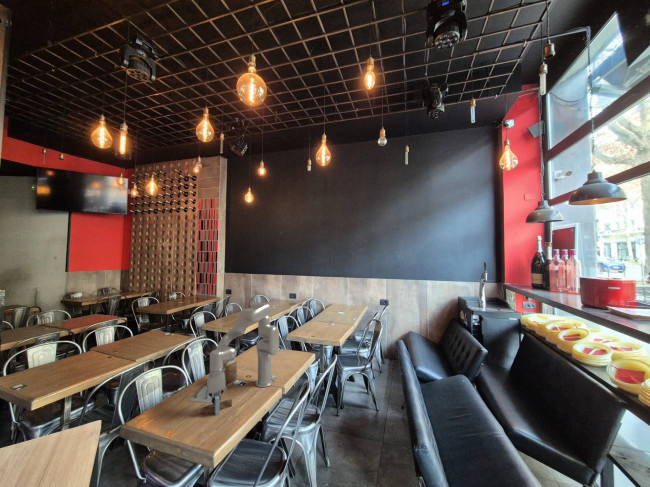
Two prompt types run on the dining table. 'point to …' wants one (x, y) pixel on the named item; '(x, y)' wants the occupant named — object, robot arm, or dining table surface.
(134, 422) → the dining table surface
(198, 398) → the metal bracket
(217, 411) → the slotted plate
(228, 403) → the walnut board
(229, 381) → the milk carton
